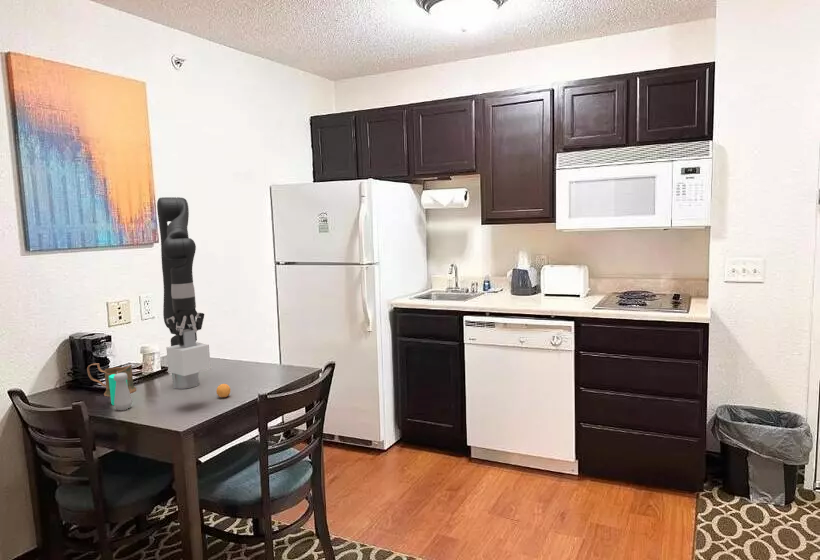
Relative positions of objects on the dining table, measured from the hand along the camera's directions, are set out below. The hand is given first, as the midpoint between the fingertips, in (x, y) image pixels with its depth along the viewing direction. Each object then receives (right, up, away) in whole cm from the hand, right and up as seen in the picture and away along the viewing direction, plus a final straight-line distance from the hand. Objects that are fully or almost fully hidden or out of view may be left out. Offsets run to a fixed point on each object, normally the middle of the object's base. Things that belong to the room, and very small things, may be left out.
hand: (187, 343), depth 200 cm
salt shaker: (-24, -24, +4) cm, 34 cm away
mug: (-39, -22, +25) cm, 52 cm away
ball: (+9, -19, +12) cm, 24 cm away
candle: (-29, -23, +11) cm, 39 cm away
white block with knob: (0, -9, +1) cm, 10 cm away
